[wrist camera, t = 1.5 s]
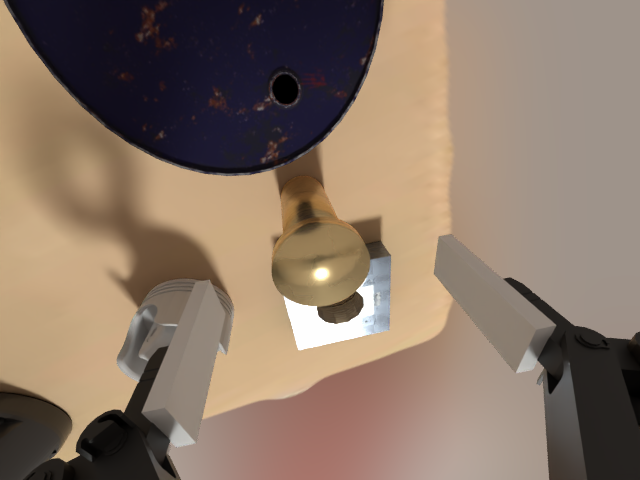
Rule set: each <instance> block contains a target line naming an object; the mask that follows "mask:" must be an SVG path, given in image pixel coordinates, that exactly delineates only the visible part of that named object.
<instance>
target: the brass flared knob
mask: <svg viewBox="0 0 640 480" xmlns="http://www.w3.org/2000/svg"><path fill="white" fill-rule="evenodd" d="M281 207H282V224H283V234H282V235H281V236H280V238H279V239H278V241H277V242H276V244H275V246H274V249H273V253H272V278H273V281H274V284H275V286H276V288H277V289H278V291H279V292H280V293H281V294H282V295H283V296H284V297H286V298H287V299H288V300H290V301H292V302H294V303H297V304H300V305H304V306H311V307H319V306H327V305H331V304H335V303H337V302H340V301H342V300H344V299H346V298H348V297H349V296H351V295H352V294H353V293H354V292H356V291H357V290H358V289H359V288H360V286H361V285H362V284H363V282H364V281H365V279H366V277H367V275H368V272H369V268H370V255H369V252H368V249H367V247H366V245H365V243H364V242H363V240H362V238H361V236H360V235H359V233H358V232H357V231H356V230H355V229H354V228H353V227H352V226H351V225H350V224H348V223H346V222H344V221H342V220H339V219H338V218H337V216H336V214H335V212H334V209H333V207H332V205H331V203H330V201H329V199H328V197H327V195H326V193H325V191H324V189H323V187H322V185H321V184H320V182H319V181H317V180H316V179H314V178H312V177H310V176H297V177H294V178H292V179H291V180H289V181H288V182H287V183H286V184H285V186H284V187H283V189H282V192H281Z"/></svg>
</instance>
